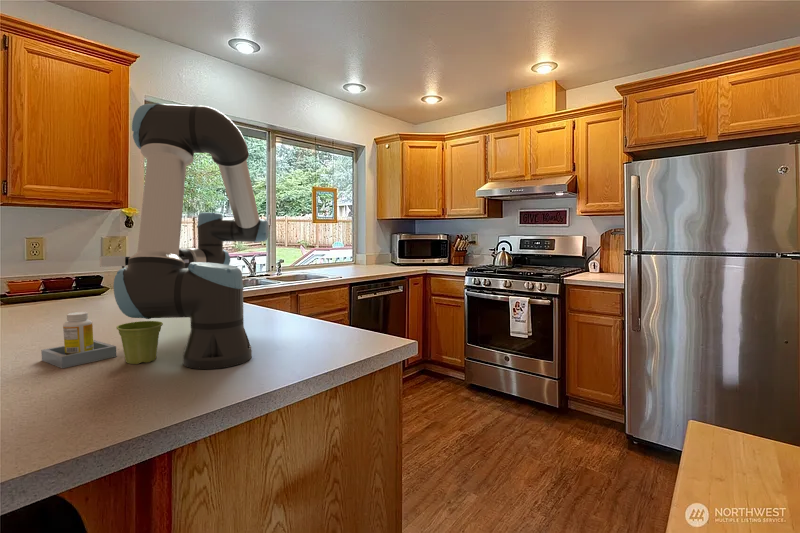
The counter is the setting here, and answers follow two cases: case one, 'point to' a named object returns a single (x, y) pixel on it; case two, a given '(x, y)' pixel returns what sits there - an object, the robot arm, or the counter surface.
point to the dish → (78, 355)
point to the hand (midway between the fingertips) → (117, 261)
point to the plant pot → (140, 340)
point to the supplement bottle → (78, 333)
